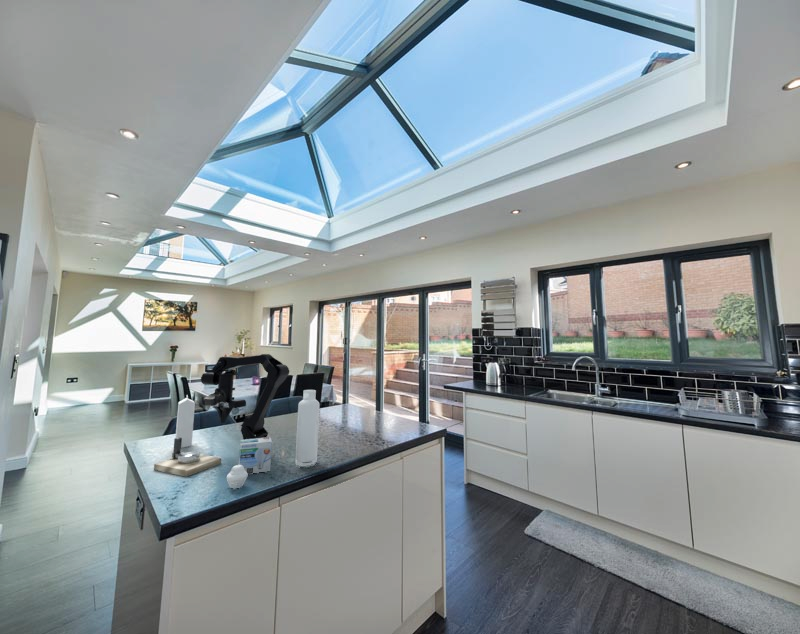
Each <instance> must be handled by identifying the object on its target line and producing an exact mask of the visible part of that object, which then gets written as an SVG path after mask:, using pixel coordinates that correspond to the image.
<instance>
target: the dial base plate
mask: <svg viewBox="0 0 800 634" xmlns="http://www.w3.org/2000/svg"><path fill="white" fill-rule="evenodd" d="M221 463H222V457H219V456H213V455H212V456H211V455H207V454H202V453H200V460H198V461H196V462H193V463H187V464H180V463H178V458H175V459H174V458H173V457H172V456H171V458H169V459H167V460H162V461H159V462H157V463H154V464H153V471H157V470H158V472H163V473H167V474H172V475H176V476H180V477H186V478H187V477H189V476H192V475H195V474H196V473H200V472H202V471H205V470H206V469H210V468H213V467H216V466H217V465H220V464H221Z"/></svg>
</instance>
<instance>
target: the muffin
mask: <svg viewBox="0 0 800 634" xmlns="http://www.w3.org/2000/svg"><path fill="white" fill-rule="evenodd" d="M247 478H248V473H247V472H246V471H245V469H244V467H243V466H242V465H239V464H236V465H234V466H232V467H231V470H230V471H229V472H228V473H227V475H226V478H225V479H226V480H227V484H228V486H229V488H230V489H231V488H238V487H241V486H242V487H243V486H244V484H245V482H246V480H247ZM242 487H241V488H242Z"/></svg>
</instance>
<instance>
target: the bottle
mask: <svg viewBox="0 0 800 634" xmlns="http://www.w3.org/2000/svg"><path fill="white" fill-rule="evenodd" d="M316 394H317V390H315V389H304V390H303V395H302V396H303V397H302V400H300V401H299V402H298V404H297V405H298V407H297V424H296V425H297V426H296V442H295V443H296V444H295V445H296V446H295V460H294V461H295V464H296V465H299V466H306V465H311V464H314V463H315V462H317V463H318V459H317V458H318V450H319V448H318V444H319V427H320V425H319V423H320V406H321V405H320V402H319V401H318V400H317V399H316ZM295 464H294V465H295Z"/></svg>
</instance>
